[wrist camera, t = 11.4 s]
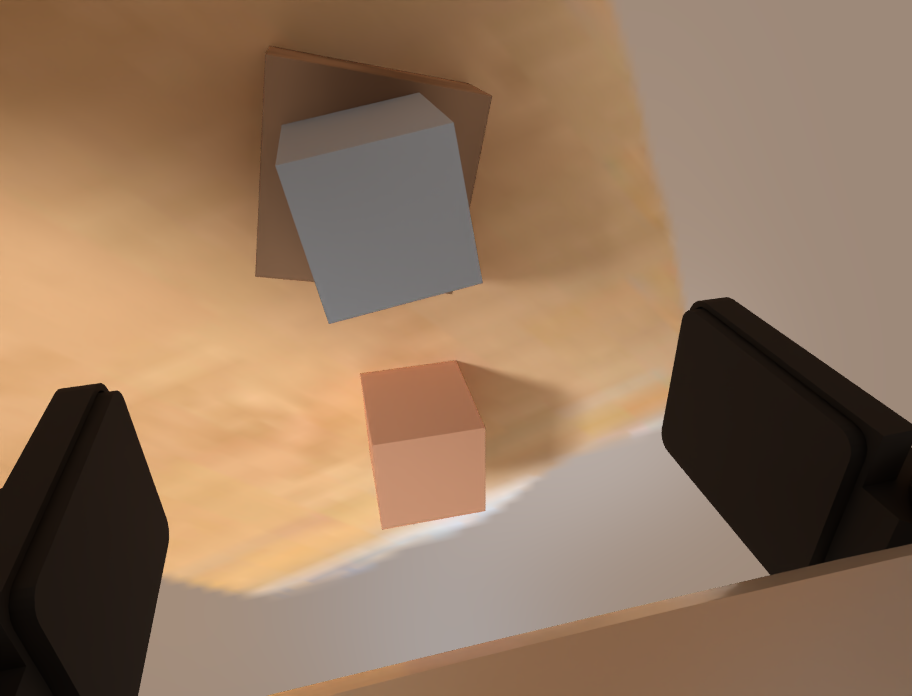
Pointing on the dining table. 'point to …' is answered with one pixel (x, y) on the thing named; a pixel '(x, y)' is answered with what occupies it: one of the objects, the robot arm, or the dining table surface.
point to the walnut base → (331, 90)
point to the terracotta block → (424, 443)
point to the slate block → (379, 205)
